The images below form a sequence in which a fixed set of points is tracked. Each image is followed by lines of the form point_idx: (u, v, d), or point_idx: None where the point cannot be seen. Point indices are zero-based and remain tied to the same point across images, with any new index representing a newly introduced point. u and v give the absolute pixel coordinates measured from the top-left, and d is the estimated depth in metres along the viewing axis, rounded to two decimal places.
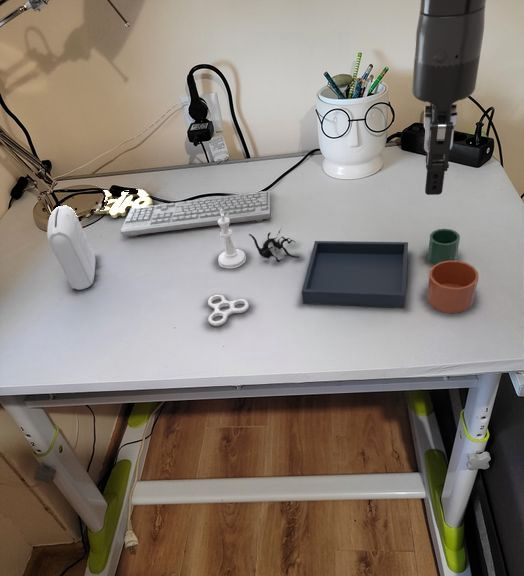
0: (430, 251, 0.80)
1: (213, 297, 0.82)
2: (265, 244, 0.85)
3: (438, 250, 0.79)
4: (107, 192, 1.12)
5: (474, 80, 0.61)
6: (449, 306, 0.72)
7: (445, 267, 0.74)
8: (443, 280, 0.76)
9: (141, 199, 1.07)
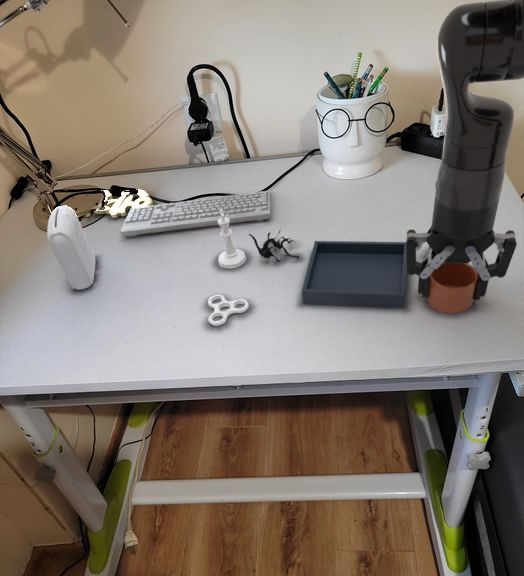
0: None
1: (213, 297, 0.82)
2: (265, 244, 0.85)
3: None
4: (107, 192, 1.12)
5: (451, 227, 0.63)
6: (449, 306, 0.72)
7: (445, 267, 0.74)
8: (443, 280, 0.76)
9: (141, 199, 1.07)
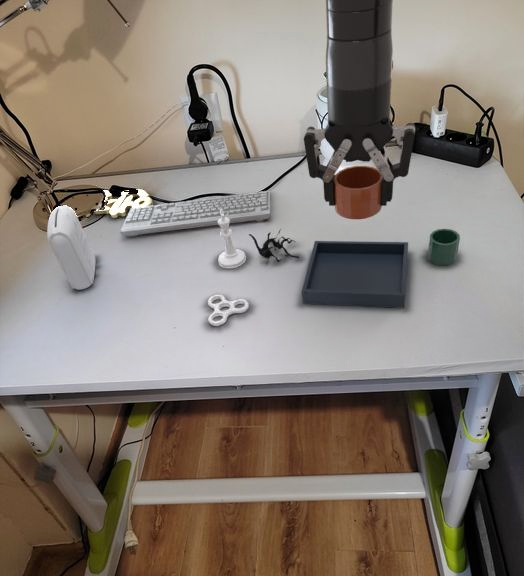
0: (430, 251, 0.80)
1: (213, 297, 0.82)
2: (265, 244, 0.85)
3: (438, 250, 0.79)
4: (107, 192, 1.12)
5: (342, 113, 0.59)
6: (354, 211, 0.69)
7: (353, 173, 0.71)
8: None
9: (141, 199, 1.07)
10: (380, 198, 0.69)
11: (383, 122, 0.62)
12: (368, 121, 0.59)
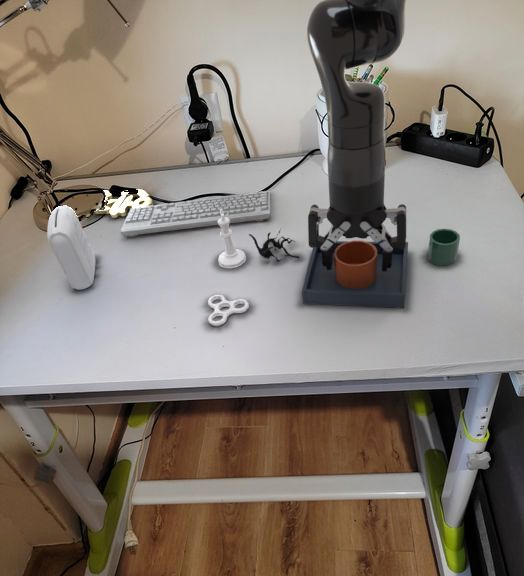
0: (430, 251, 0.80)
1: (213, 297, 0.82)
2: (265, 244, 0.85)
3: (438, 250, 0.79)
4: (107, 192, 1.12)
5: (342, 203, 0.68)
6: (351, 282, 0.78)
7: (351, 246, 0.80)
8: (351, 259, 0.82)
9: (141, 199, 1.07)
10: (375, 271, 0.78)
11: (378, 208, 0.70)
12: (364, 210, 0.68)
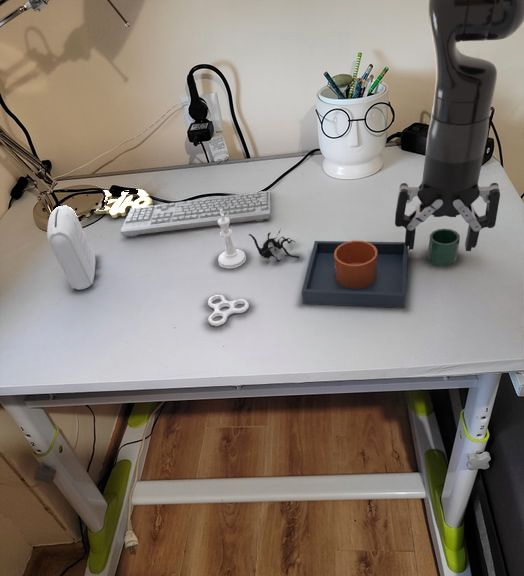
0: (430, 251, 0.80)
1: (213, 297, 0.82)
2: (265, 244, 0.85)
3: (438, 250, 0.79)
4: (107, 192, 1.12)
5: (441, 180, 0.69)
6: (351, 282, 0.78)
7: (351, 246, 0.80)
8: (351, 259, 0.82)
9: (141, 199, 1.07)
10: (375, 271, 0.78)
11: (472, 186, 0.71)
12: (463, 187, 0.69)
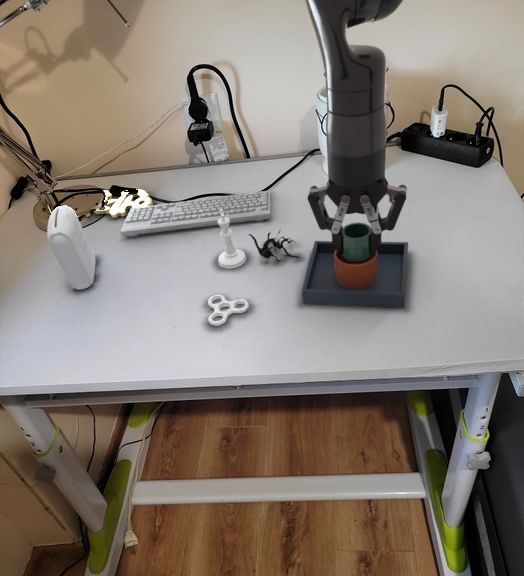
0: (343, 246, 0.76)
1: (213, 297, 0.82)
2: (265, 244, 0.85)
3: (349, 244, 0.75)
4: (107, 192, 1.12)
5: (341, 175, 0.65)
6: (351, 282, 0.78)
7: None
8: None
9: (141, 199, 1.07)
10: (375, 271, 0.78)
11: (378, 181, 0.67)
12: (365, 182, 0.65)
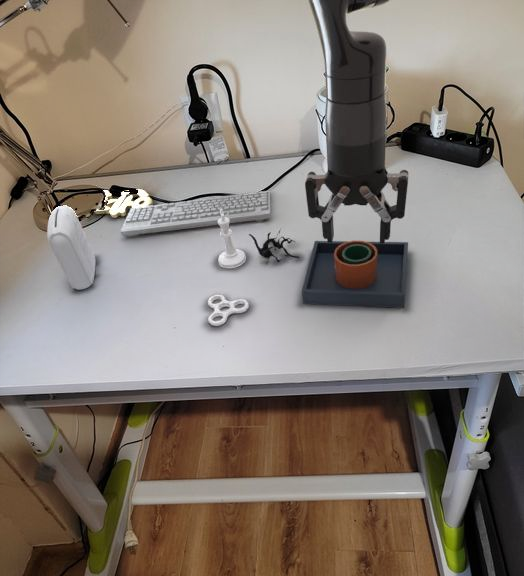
0: None
1: (213, 297, 0.82)
2: (265, 244, 0.85)
3: None
4: (107, 192, 1.12)
5: (340, 165, 0.64)
6: (351, 282, 0.78)
7: None
8: None
9: (141, 199, 1.07)
10: (375, 271, 0.78)
11: (378, 171, 0.66)
12: (364, 172, 0.64)
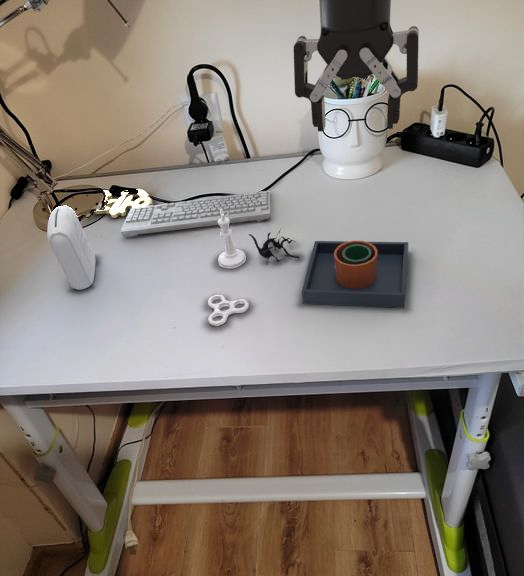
0: None
1: (213, 297, 0.82)
2: (265, 244, 0.85)
3: None
4: (107, 192, 1.12)
5: (336, 14, 0.53)
6: (351, 282, 0.78)
7: None
8: None
9: (141, 199, 1.07)
10: (375, 271, 0.78)
11: (382, 28, 0.55)
12: (365, 23, 0.53)
